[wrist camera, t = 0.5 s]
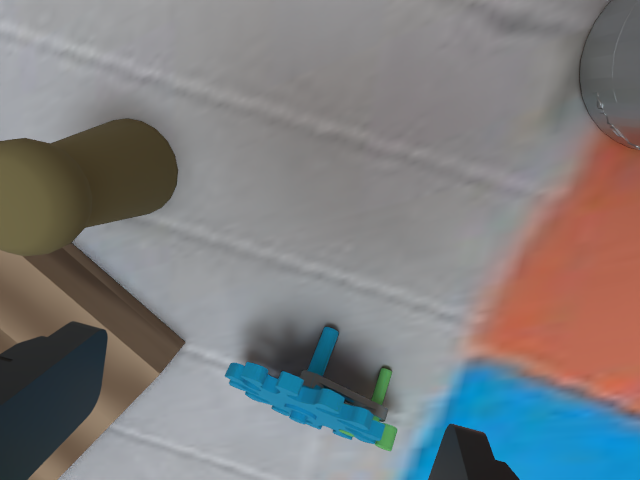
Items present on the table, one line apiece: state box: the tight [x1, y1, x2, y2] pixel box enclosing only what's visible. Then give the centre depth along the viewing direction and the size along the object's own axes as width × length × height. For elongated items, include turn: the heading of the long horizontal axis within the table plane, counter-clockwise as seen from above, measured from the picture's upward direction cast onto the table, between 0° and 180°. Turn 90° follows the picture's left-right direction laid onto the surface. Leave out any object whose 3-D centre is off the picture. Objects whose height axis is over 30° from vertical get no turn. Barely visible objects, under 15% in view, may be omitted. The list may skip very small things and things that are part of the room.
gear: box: [225, 327, 397, 451], centre depth 30 cm, size 11×6×10 cm
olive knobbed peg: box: [0, 118, 178, 256], centre depth 25 cm, size 6×6×11 cm
